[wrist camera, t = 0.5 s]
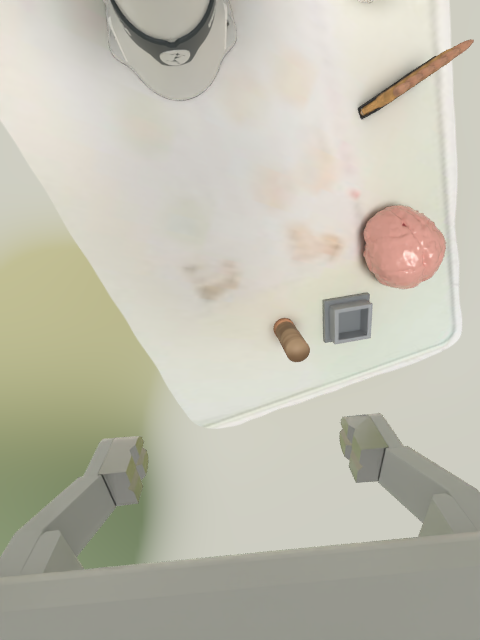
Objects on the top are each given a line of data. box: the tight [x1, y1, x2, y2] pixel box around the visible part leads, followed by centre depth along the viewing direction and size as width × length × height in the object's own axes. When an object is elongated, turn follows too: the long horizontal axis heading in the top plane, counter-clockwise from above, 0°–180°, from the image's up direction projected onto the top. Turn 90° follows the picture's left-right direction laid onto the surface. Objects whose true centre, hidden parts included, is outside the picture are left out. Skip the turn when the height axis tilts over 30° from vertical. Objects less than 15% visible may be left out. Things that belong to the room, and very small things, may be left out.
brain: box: [363, 205, 446, 289], centre depth 53 cm, size 16×13×12 cm
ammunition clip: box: [358, 40, 474, 119], centre depth 42 cm, size 11×2×12 cm, turn 122°
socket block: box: [323, 293, 372, 344], centre depth 61 cm, size 10×10×4 cm
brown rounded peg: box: [274, 318, 310, 362], centre depth 57 cm, size 5×5×11 cm
